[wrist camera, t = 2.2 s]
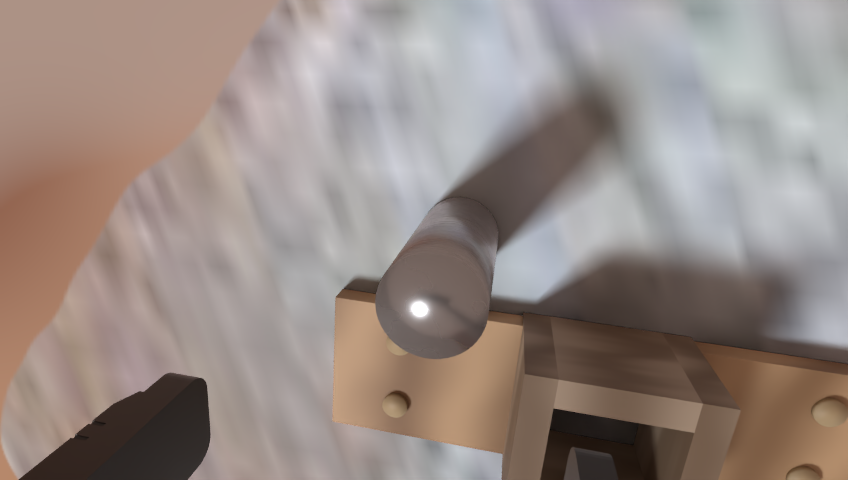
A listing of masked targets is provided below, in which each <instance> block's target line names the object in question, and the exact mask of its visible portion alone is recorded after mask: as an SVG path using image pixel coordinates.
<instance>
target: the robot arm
mask: <svg viewBox="0 0 848 480" xmlns="http://www.w3.org/2000/svg"><path fill="white" fill-rule="evenodd" d="M209 443H210V421H209V407H208V393H207V384H206V382H205V380H204V379H202V378H198V377H192V376H187V375H181V374H176V373H167V374H165V375H164V376H162V377H161V378H160V379H159V380H158V381H156V382H155V383H154V384H153V385H152V386H150V387H149V388H148V389H147V390H146V391H144V392H141V391H139V392H137V393H135V394H133V395H131V396H129V397H127V398H125V399H123V400H121V401H119V402H117V403H114V404H113V405H112V406H110V407H109V408H108V409H107V410H105V411H104V412H103V413H102V414H100V415H99V416H98V417H97V418H95V419H94V420H93V422H92V424H88V425H87V426H85V427H84V428H83V429H82V430H80V431H79V432H78V433H77V434H75V437H74V438H70V439H69V440H68V441H66V442H65V443H64V444H63V445H61V446H60V447H59V448H58V449H56V450H55V451H54V452H53V453H51V454H50V455H49V456H48V457H46V458H45V459H44V460H43V461H41V462H40V463H39V464H38V465H36V466H35V467H34V468H33V469H31V470H30V471H29V472H28V473H26V474H25V475H24V476H23V477H21V478H20V479H19V480H188V478H189V477H190V476H191V475H192V474H193V472H194V471H195V470H196V469H197V468H198V466H199V465H200V464H201V462H202V461H203V459H204V457H205V455H206V453H207V450H208V447H209ZM564 480H618V477H617V473H616V469H615V465H614V461H613V458H612V456H611V454H608V453H602V452H597V451H592V450H586V449H581V448H575V447H572V448H571V450H570V453H569V457H568V461H567V466H566V471H565V476H564Z"/></svg>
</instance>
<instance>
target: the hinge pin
mask: <svg viewBox="0 0 848 480" xmlns="http://www.w3.org/2000/svg"><path fill="white" fill-rule="evenodd" d="M497 245H498V227H497V224H496V221H495V219H494V217H493V215H492V214H491V213H490V211H489V210H488V209H487V208H486V207H484V206H483V205H482V204H480V203H479V202H477V201H475V200H472V199H469V198H464V197H455V198H449V199H446V200H443V201H441V202H439V203H438V204H436V205H435V206H434V207H433V208H432V209H431V210H430V211H429V212H428V214H427V215H426V216H425V218H424V219H423V221H422V222H421V223H420V225H419V226H418V228H417V229H416V230H415V232H414V233H413V235H412V236H411V237H410V239H409V240H408V242H407V243H406V244H405V246H404V247H403V249H402V250H401V252H400V253H399V254H398V256H397V257H396V259H395V260H394V261H393V263H392V264H391V266H390V267H389V268H388V270H387V271H386V273H385V274H384V276H383V277H382V279H381V280H380V283H379V285H378V288H377V291H376V297H375V308H376V314H377V317H378V320H379V322H380V325H381V327H382V328H383V330H384V332H385V333H386V334H387V336H388V337H389V338H390V339H391V340H392V341H393V342H394V343H395V344H396V345H397V346H399V347H400V348H402V349H403V350H405V351H406V352H409V353H411V354H413V355H416V356H419V357H423V358H428V359H444V358H450V357H454V356H456V355H459V354H461V353H463V352H465V351H467V350H468V349H469V348H471V347H472V346H473V345H474V344H475V343H476V342H477V341H478V339H479V338H480V337H481V335H482V333H483V332H484V330H485V327H486V324H487V320H488V314H489V306H490V298H491V291H492V283H493V276H494V268H495V261H496V253H497Z"/></svg>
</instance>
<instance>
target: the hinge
mask: <svg viewBox="0 0 848 480" xmlns="http://www.w3.org/2000/svg"><path fill="white" fill-rule="evenodd" d="M375 297H376V294H374V293H367V292H361V291H354V290H347V289H342V291H341V292H340V293H339V294H338V295H337V296H336V301H335V342H334V383H333V421H334V422H339V423H344V424H349V425H354V426H360V427H365V428H370V429H375V430H381V431H386V432H391V433H396V434H402V435H407V436H412V437H417V438H423V439H428V440H433V441H438V442H444V443H449V444H454V445H459V446H464V447H470V448H475V449H480V450H485V451H491V452H496V453H501V454H503V460H502V480H564V476H565V471H566V466H567V461H568V457H569V453H570V450H571V448H572V447H575V448H581V449H586V450H592V451H597V452H602V453H608V454H611V456H612V458H613V461H614V465H615V469H616V473H617V477H618V480H848V364H843V363H836V362H830V361H823V360H816V359H810V358H803V357H796V356H790V355H783V354H776V353H769V352H763V351H756V350H749V349H743V348H736V347H729V346H722V345H716V344H709V343H702V342H696V341H693V339H692V338H691V337H687V336H680V335H673V334H666V333H660V332H653V331H646V330H639V329H633V328H626V327H619V326H612V325H606V324H599V323H592V322H585V321H579V320H572V319H565V318H558V317H552V316H545V315H538V314H531V313H525V312H523V316H521V315H515V314H508V313H501V312H495V311H489V314H488V320H487V324H486V327H485V330H484V332H483V333H482V335H481V337H480V338H479V339H478V341H477V342H476V343H475V344H474V345H473V346H472V347H471V348H469V349H468V350H467V351H465V352H463V353H461V354H459V355H456V356H454V357H450V358H444V359H428V358H423V357H419V356H416V355H413V354H411V353H409V352H406V351H405V350H403V349H402V348H400V347H399V346H397V345H396V344H395V343H394V342H393V341H392V340H391V339H390V338H389V337H388V336H387V334H386V333H385V332H384V330H383V328H382V327H381V325H380V322H379V320H378V317H377V314H376V308H375ZM553 408H555V409H560V410H566V411H572V412H577V413H583V414H589V415H595V416H600V417H606V418H612V419H617V420H623V421H629V422H635V423H639V426H638V429H637V433H636V437H635V441H634V445H629V444H623V443H618V442H612V441H607V440H601V439H596V438H590V437H585V436H579V435H574V434H568V433H563V432H557V431H552V430H550V424H551V419H552V414H553Z"/></svg>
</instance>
